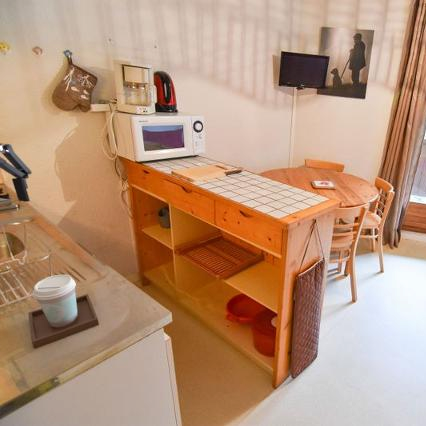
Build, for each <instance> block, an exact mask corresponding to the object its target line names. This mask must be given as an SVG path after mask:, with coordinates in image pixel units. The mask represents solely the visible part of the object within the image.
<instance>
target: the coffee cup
mask: <svg viewBox="0 0 426 426" xmlns="http://www.w3.org/2000/svg"><path fill="white" fill-rule="evenodd" d="M76 285H77V283H76V281H75V280H74V278H72V276H71V275H68V274H55V275H51V276H48V277H44V278H42V279H41V280H39V281H38V282H37V283H35V285H34V287H33V291H32V297H33V298H34V299H36V301H37V303H38V305H39V307H40V309H41V308H42V310H43V312H44V314H45V316H46V317H47V319H48V321H49V323H50V325H51V326H52V327H56V328H58V327H64V326H67V325H69V324H71V323H73V322H74V321H75V320H76V319H77V317H78V314H77V304H76V297H77V295H76Z"/></svg>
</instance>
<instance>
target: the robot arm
mask: <svg viewBox="0 0 426 426" xmlns="http://www.w3.org/2000/svg"><path fill="white" fill-rule="evenodd" d="M0 154H2V155H3V156H4V157H5V158H6V159H5V158H3V157H1V156H0V169H1V170H3V171H4V172H6V173H8V174H9V175H11V176H12V177H14V178H11V181H12V184H13V187H14V191H15V194H16V197H17V200H18V201H19V202H26V203H29V202H30V201H31V199H30V196H29V194H28V188H29V186H28V183H27V182H28V181H27V180H28V179H29V177H30V176H29V175H32V173H33V172H32V170H31V169H30V168H29V167H28V166H27V164H25V162H24V161H23V160H22V159H21V158H20V157H19V156H18V154H16V152H15V151H14V149H13V146H12V145H11V144H10V143H2V142H0ZM7 160H8V161H7Z"/></svg>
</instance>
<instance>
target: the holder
mask: <svg viewBox="0 0 426 426" xmlns="http://www.w3.org/2000/svg"><path fill="white" fill-rule="evenodd" d="M76 304H77V314H78V317H77V319H76V320H75V321H74V322H73V323H71V324H69V325H67V326H64V327H58V328H56V327H52V326H51V325H50V323H49V321H48V319H47V317H46V316H45V314H44V312H43V310H42V308H41V307H40V308H39V309H35V310H32V311H29V312H27V314H28V322H29V327H30V328H29V329H30V336H31V343H32V346H33V349H37V348H40V347H42V346H45V345H48V344H51V343H53V342H56V341H59V340H61V339H65V338H67V337H70V336H73V335H75V334H78V333H80V332H83V331H86V330H89V329H91V328H94V327H96V326H99V325H100V322H99V319H98V316H97V314H96V313H97V312H96V311H95V308H94V306H93V303H92V300H91V298H90V295H89V294H88V293H87V294H83V295H80V296H76Z"/></svg>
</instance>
